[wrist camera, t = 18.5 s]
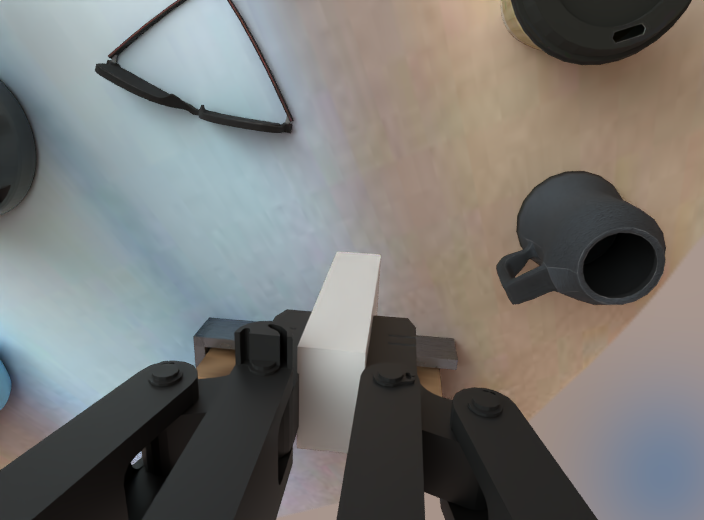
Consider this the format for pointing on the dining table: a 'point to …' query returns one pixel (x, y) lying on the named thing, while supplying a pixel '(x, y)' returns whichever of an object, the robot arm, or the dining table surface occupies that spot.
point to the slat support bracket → (215, 336)
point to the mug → (583, 244)
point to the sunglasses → (159, 96)
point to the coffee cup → (590, 26)
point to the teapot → (4, 385)
